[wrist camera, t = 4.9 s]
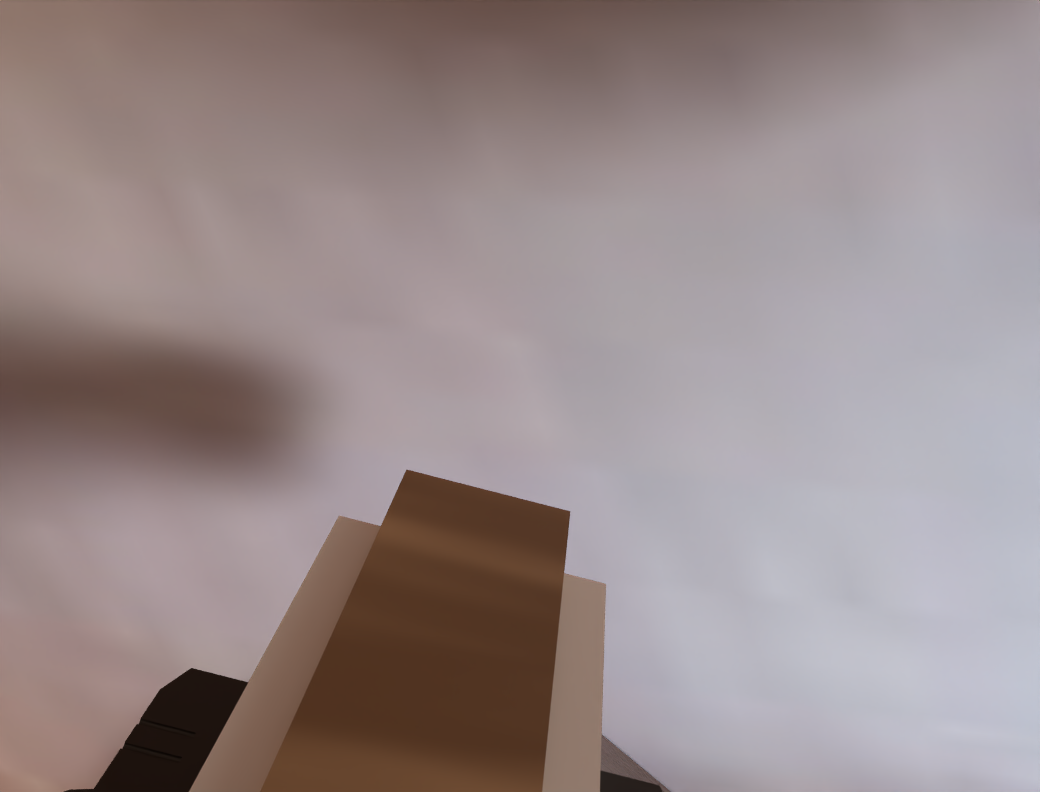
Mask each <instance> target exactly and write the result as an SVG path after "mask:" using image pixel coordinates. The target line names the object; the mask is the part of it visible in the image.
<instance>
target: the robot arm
mask: <svg viewBox="0 0 1040 792" xmlns="http://www.w3.org/2000/svg"><path fill="white" fill-rule="evenodd" d="M380 527H381V526H378V525H374V524H370V523H366V522H362V521H358V520H354V519H350V518H346V517H342V516H339V517H338V519H337V521H336V522H335V524H334V526H333V528H332V530H331V532H330V533H329V535H328V537H327V539H326V541H325V543H324V544H323V546H322V548H321V550H320V552H319V554H318V556H317V557H316V559H315V561H314V563H313V565H312V567H311V568H310V570H309V572H308V574H307V576H306V578H305V579H304V581H303V583H302V585H301V587H300V589H299V590H298V592H297V594H296V596H295V598H294V600H293V601H292V603H291V605H290V607H289V609H288V611H287V612H286V614H285V616H284V618H283V620H282V622H281V623H280V625H279V627H278V629H277V631H276V633H275V635H274V636H273V638H272V640H271V642H270V644H269V646H268V647H267V649H266V651H265V653H264V655H263V657H262V658H261V660H260V662H259V664H258V666H257V668H256V669H255V671H254V673H253V675H252V677H251V679H250V680H249V682H244V681H240V680H236V679H233V678H229V677H225V676H221V675H217V674H213V673H209V672H205V671H201V670H197V669H193V668H191V669H189V670H188V671H186V672H185V673H183V674H182V675H181V676H179V677H178V678H176V679H175V680H173V681H172V682H170V683H169V684H167V685H166V686H164V687H163V688H161V689H160V690H159V692H158V693H157V695H156V696H155V698H154V699H153V701H152V702H151V704H150V705H149V707H148V708H147V710H146V711H145V713H144V714H143V716H142V717H141V719H140V723H139V724H137V725H136V726H135V728H134V729H133V731H132V732H131V734H130V735H129V737H128V738H127V740H126V741H125V744H124V747H123V749H120V750H119V752H118V753H117V755H116V756H115V758H114V759H113V761H112V762H111V764H110V765H109V767H108V768H107V770H106V771H105V773H104V774H103V776H102V777H101V779H100V780H99V782H98V783H97V785H96V786H95V788H94V789H76V790H68V791H64V792H260V791H261V789H262V787H263V784H264V782H265V780H266V778H267V776H268V773H269V771H270V769H271V767H272V765H273V762H274V760H275V758H276V756H277V754H278V751H279V749H280V747H281V745H282V743H283V740H284V738H285V736H286V734H287V732H288V729H289V727H290V725H291V723H292V721H293V718H294V716H295V714H296V712H297V710H298V707H299V705H300V703H301V701H302V699H303V696H304V694H305V692H306V690H307V688H308V685H309V683H310V681H311V679H312V677H313V674H314V672H315V670H316V668H317V666H318V663H319V661H320V659H321V657H322V655H323V652H324V650H325V648H326V646H327V644H328V641H329V639H330V637H331V635H332V633H333V630H334V628H335V626H336V624H337V622H338V619H339V617H340V615H341V613H342V611H343V608H344V606H345V604H346V602H347V600H348V597H349V595H350V593H351V591H352V589H353V586H354V584H355V582H356V580H357V578H358V575H359V573H360V571H361V569H362V567H363V564H364V562H365V560H366V558H367V556H368V553H369V551H370V549H371V547H372V545H373V542H374V540H375V538H376V536H377V534H378V531H379V529H380ZM605 597H606V584H604V583H600V582H596V581H592V580H588V579H585V578H581V577H577V576H573V575H569V574H565V573H564V578H563V588H562V598H561V608H560V618H559V628H558V638H557V648H556V658H555V668H554V678H553V688H552V698H551V708H550V718H549V728H548V738H547V748H546V758H545V768H544V778H543V788H542V792H663V791H662V789H661V787H660V785H656V784H652V783H648V782H644V781H640V780H637V779H633V778H629V777H625V776H621V775H617V774H613V773H609V772H605V771H601V770H600V769H601V734H602V700H603V666H604V632H605Z"/></svg>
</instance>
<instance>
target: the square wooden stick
mask: <svg viewBox="0 0 1040 792" xmlns="http://www.w3.org/2000/svg"><path fill="white" fill-rule="evenodd" d="M569 518H570V511H566V510H562V509H559V508H555V507H551V506H547V505H543V504H539V503H535V502H531V501H527V500H523V499H519V498H516V497H512V496H508V495H504V494H500V493H496V492H492V491H488V490H484V489H480V488H476V487H473V486H469V485H465V484H461V483H457V482H453V481H449V480H445V479H441V478H437V477H433V476H430V475H426V474H422V473H418V472H414V471H410V470H406V472H405V474H404V476H403V479H402V481H401V483H400V485H399V487H398V490H397V492H396V494H395V496H394V498H393V501H392V503H391V505H390V507H389V509H388V512H387V514H386V516H385V518H384V520H383V523H382V525H381V527H380V529H379V531H378V534H377V536H376V538H375V540H374V542H373V545H372V547H371V549H370V551H369V553H368V556H367V558H366V560H365V562H364V564H363V567H362V569H361V571H360V573H359V575H358V578H357V580H356V582H355V584H354V586H353V589H352V591H351V593H350V595H349V597H348V600H347V602H346V604H345V606H344V608H343V611H342V613H341V615H340V617H339V619H338V622H337V624H336V626H335V628H334V630H333V633H332V635H331V637H330V639H329V641H328V644H327V646H326V648H325V650H324V652H323V655H322V657H321V659H320V661H319V663H318V666H317V668H316V670H315V672H314V674H313V677H312V679H311V681H310V683H309V685H308V688H307V690H306V692H305V694H304V696H303V699H302V701H301V703H300V705H299V707H298V710H297V712H296V714H295V716H294V718H293V721H292V723H291V725H290V727H289V729H288V732H287V734H286V736H285V738H284V740H283V743H282V745H281V747H280V749H279V751H278V754H277V756H276V758H275V760H274V762H273V765H272V767H271V769H270V771H269V773H268V776H267V778H266V780H265V782H264V784H263V787H262V789H261V791H260V792H542V788H543V778H544V768H545V758H546V748H547V738H548V728H549V718H550V708H551V698H552V688H553V678H554V668H555V658H556V648H557V638H558V628H559V618H560V608H561V598H562V588H563V578H564V568H565V558H566V548H567V538H568V528H569Z"/></svg>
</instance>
